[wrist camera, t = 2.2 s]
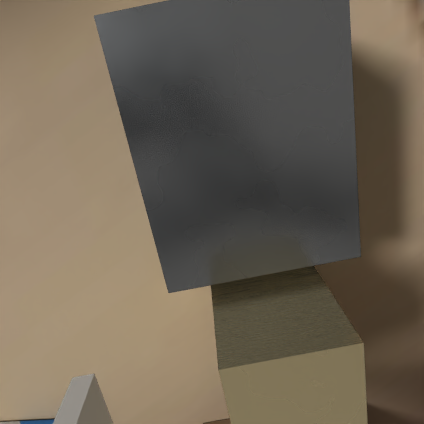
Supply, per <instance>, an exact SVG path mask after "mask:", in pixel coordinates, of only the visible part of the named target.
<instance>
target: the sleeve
mask: <svg viewBox="0 0 424 424" xmlns="http://www.w3.org/2000/svg"><path fill="white" fill-rule="evenodd" d="M94 18H95V22H96V26H97V29H98V33H99V37H100V41H101V44H102V48H103V52H104V55H105V59H106V63H107V66H108V70H109V74H110V78H111V81H112V85H113V89H114V92H115V96H116V100H117V104H118V107H119V111H120V115H121V118H122V122H123V126H124V130H125V133H126V137H127V141H128V144H129V148H130V152H131V155H132V159H133V163H134V167H135V170H136V174H137V178H138V181H139V185H140V189H141V193H142V196H143V200H144V204H145V207H146V211H147V215H148V219H149V222H150V226H151V230H152V233H153V237H154V241H155V244H156V248H157V252H158V256H159V259H160V263H161V267H162V270H163V274H164V278H165V282H166V285H167V289H168V293H172V292H177V291H183V290H188V289H193V288H198V287H204V286H209V285H214V284H220V283H225V282H230V281H235V280H241V279H246V278H251V277H256V276H262V275H267V274H272V273H277V272H283V271H288V270H293V269H298V268H304V267H309V266H314V265H319V264H325V263H330V262H335V261H340V260H346V259H351V258H356V257H361V248H360V226H359V204H358V182H357V160H356V138H355V116H354V95H353V73H352V51H351V29H350V7H349V0H168V1H163V2H158V3H153V4H148V5H144V6H139V7H134V8H129V9H124V10H119V11H114V12H109V13H105V14H100V15H95V16H94Z"/></svg>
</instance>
